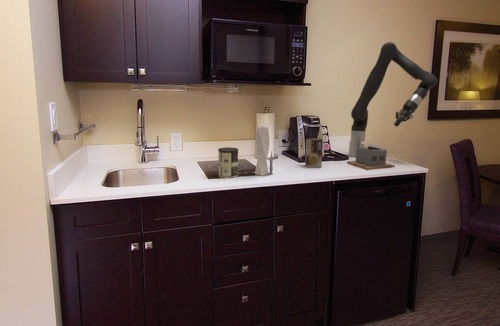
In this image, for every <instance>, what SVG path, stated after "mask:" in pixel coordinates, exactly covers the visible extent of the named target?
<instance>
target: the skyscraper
mask: <svg viewBox="0 0 500 326" xmlns="http://www.w3.org/2000/svg"><path fill="white" fill-rule="evenodd" d="M256 125H257V126H256V134H255V139H254V146H255V147H254V148H255V156H256V160H257V161H256V165H255V172H254V175H256V176H260V177H265V178H266V177H269V176H272V175H274V173H273V169H274V168H273V160H274V159H273V152H272V151H270V130H269V126H268V125H267V124H266V123H265V122H261V121H260V122H257V123H256ZM269 151H270V159H269V167H268V161H267V159H268V157H269V156H268V155H269Z"/></svg>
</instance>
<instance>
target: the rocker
mask: <svg viewBox="0 0 500 326" xmlns="http://www.w3.org/2000/svg"><path fill="white" fill-rule="evenodd" d="M361 144H364V145H365V146H367V147H368V146H370V147H374V148H378V149H384V147H383V146H381V145H378V144H374V143H372V142H368V141H366V140H365V141H362V143H361Z"/></svg>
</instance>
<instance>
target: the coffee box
mask: <svg viewBox="0 0 500 326" xmlns="http://www.w3.org/2000/svg"><path fill="white" fill-rule="evenodd" d="M322 159H323V139H322V138H315V137H314V138H312V137H311V138H310V137H309V138H308V137H307V138H306V139H305V164H304V165H305V168H322V166H323V165H322V163H323V161H322Z"/></svg>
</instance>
